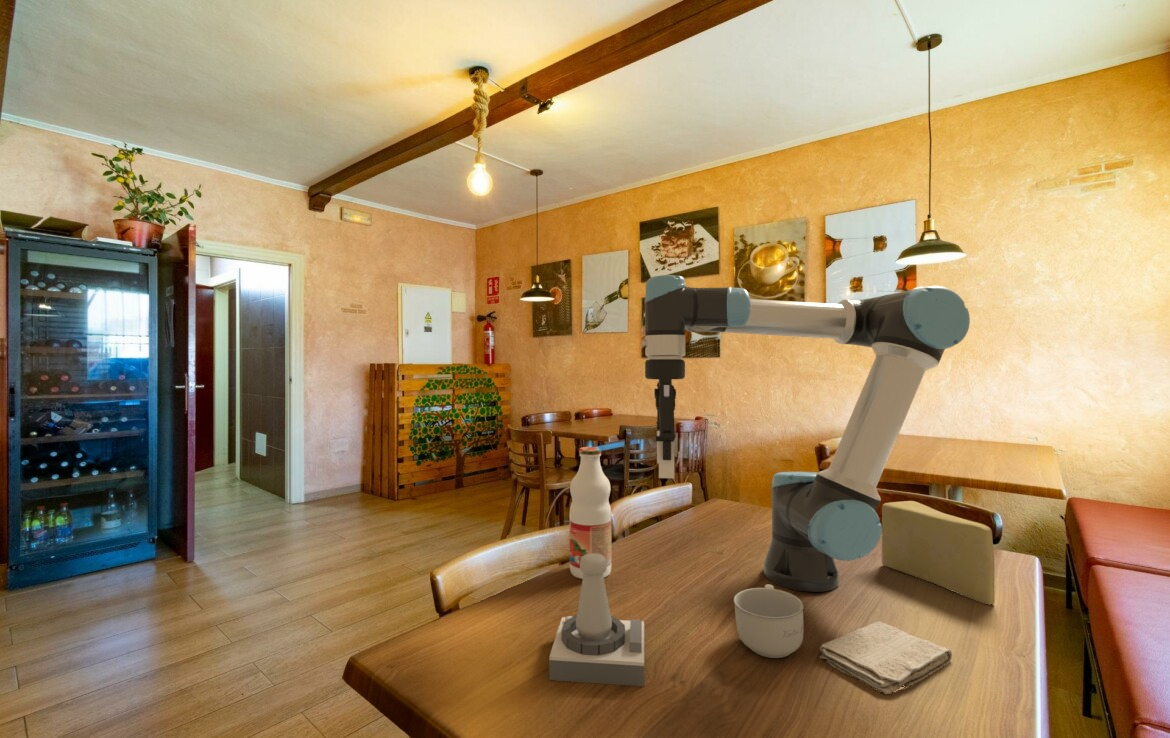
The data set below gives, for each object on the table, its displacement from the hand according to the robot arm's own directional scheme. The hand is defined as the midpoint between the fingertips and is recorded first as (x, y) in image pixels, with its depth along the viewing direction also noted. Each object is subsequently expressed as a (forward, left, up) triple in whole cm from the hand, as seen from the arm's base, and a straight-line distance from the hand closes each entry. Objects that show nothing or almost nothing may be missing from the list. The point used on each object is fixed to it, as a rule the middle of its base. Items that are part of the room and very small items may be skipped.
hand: (665, 470), depth 98 cm
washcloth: (-34, +13, -27) cm, 45 cm away
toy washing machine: (+11, +18, -27) cm, 34 cm away
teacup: (-17, +10, -27) cm, 33 cm away
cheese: (-59, -19, -27) cm, 67 cm away
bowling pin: (+12, +18, -23) cm, 32 cm away
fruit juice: (+16, -16, -27) cm, 35 cm away
